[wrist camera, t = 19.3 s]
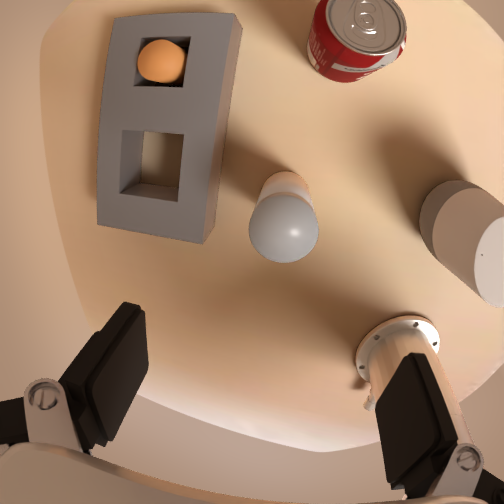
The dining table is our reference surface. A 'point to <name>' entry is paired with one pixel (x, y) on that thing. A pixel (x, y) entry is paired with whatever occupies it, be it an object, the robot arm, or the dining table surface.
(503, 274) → the smart speaker
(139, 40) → the housing
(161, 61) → the brown egg
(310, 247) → the cylinder
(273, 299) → the dining table surface
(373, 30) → the soda can
